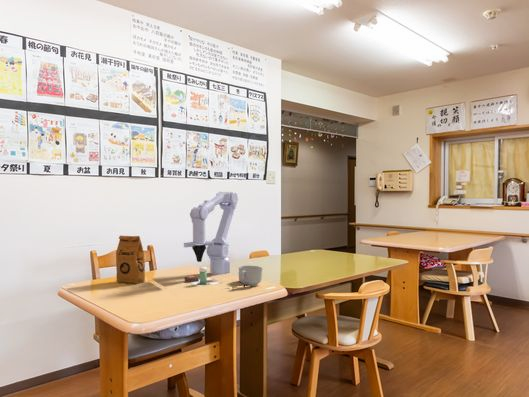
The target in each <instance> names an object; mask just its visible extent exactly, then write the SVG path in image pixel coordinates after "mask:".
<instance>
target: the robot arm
mask: <svg viewBox="0 0 529 397" xmlns="http://www.w3.org/2000/svg"><path fill="white" fill-rule="evenodd" d="M238 201H239V197H238V193H237V192H236V191H218V192H217V193H216V194H215V196H214V197H213V198H212V199H210V200H209V199H208V200H207V199H205V200H204V202H203V203H201V204H199V205H197V207H193V208H191V210H190V212H189V216H190V219H191V223H192V241H189V242H183V248H191V249H192V251H193V252H194V255H195V258H196V261H197V262H198V263H200V262H202V260H203V256H204V253H205V251H206V255H207V257H208V258H209V262H210V265H209V266H210V267H209V269H210V270H209V271H210V272H209V273H210V275H214V276H215V275H216V276H217V275H218V276H219V275H226V274H230V273H231V269H230V268H231V265H230V264H231V262H230V259H229V257H227V256H228V254H229V247H230V246H229V244H228V242H227V241H226V239H227V236H228V234H229V233H228V232H229V230H230V228H231V223H232V220H233V216H234V213H235V209H236V208H237V205H238ZM217 205H219V208H220V209H221V210H223V212H222V215H221V219H220V221H219V225H218V229H217V231H216V235H215V237H214V238H213V239H212V240H206V219H208V216H209V214H211V212H212V213H213V211H214V210H215V208H216V206H217Z"/></svg>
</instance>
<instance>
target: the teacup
mask: <svg viewBox="0 0 529 397" xmlns="http://www.w3.org/2000/svg"><path fill="white" fill-rule="evenodd" d="M263 269H264V268H263V267H262V266H258V265H249V264H248V265H246V264H245V265H239V266H238V280H239V282H240V283H241V284H243V286H247V287H256V286H258V285H259V284H260V283H261V281H262V277H263V276H262V275H263Z"/></svg>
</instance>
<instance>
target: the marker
mask: <svg viewBox="0 0 529 397" xmlns="http://www.w3.org/2000/svg"><path fill="white" fill-rule="evenodd" d="M207 268H208V267H207V266H206V267H205V266H203V267H202V266H201V267H199V270H198V271H199V279H200V284H207V278H208V275H207V270H208V269H207Z"/></svg>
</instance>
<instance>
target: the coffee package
mask: <svg viewBox="0 0 529 397" xmlns="http://www.w3.org/2000/svg"><path fill="white" fill-rule="evenodd" d="M118 239H119V240H118V244H117V249H116V251H115V266H116V267H115V268H116V282H117V283H123V284H129V285H131V284H135V285H138V284H141V283H144V282H146V279H145V278H146V263H145V262H146V261H145V252H144V249H143V248H144V247H143V245H142V241H141V237H140V235H133V236H132V235H119V237H118Z"/></svg>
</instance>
